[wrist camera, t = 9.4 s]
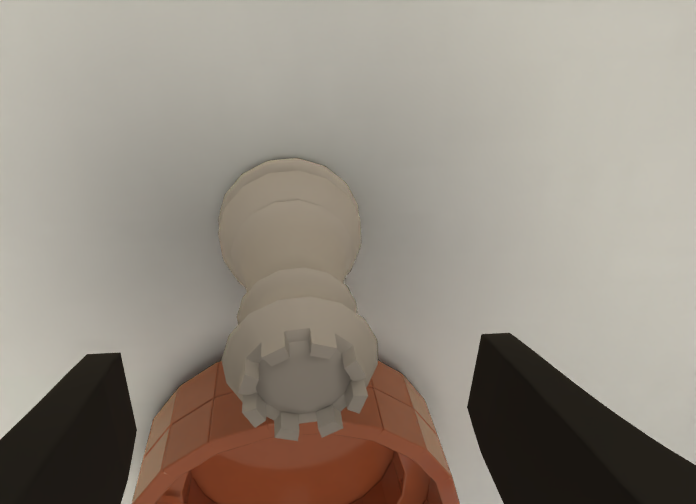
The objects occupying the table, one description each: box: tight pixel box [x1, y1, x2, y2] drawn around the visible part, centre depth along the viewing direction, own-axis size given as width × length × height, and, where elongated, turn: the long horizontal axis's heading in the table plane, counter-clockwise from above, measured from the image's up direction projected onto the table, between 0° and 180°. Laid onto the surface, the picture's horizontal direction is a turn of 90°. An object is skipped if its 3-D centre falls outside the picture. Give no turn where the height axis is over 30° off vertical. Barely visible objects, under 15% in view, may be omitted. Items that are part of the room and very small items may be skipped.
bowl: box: [131, 360, 460, 504], centre depth 20 cm, size 12×12×4 cm
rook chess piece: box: [218, 158, 378, 441], centre depth 14 cm, size 4×4×8 cm
